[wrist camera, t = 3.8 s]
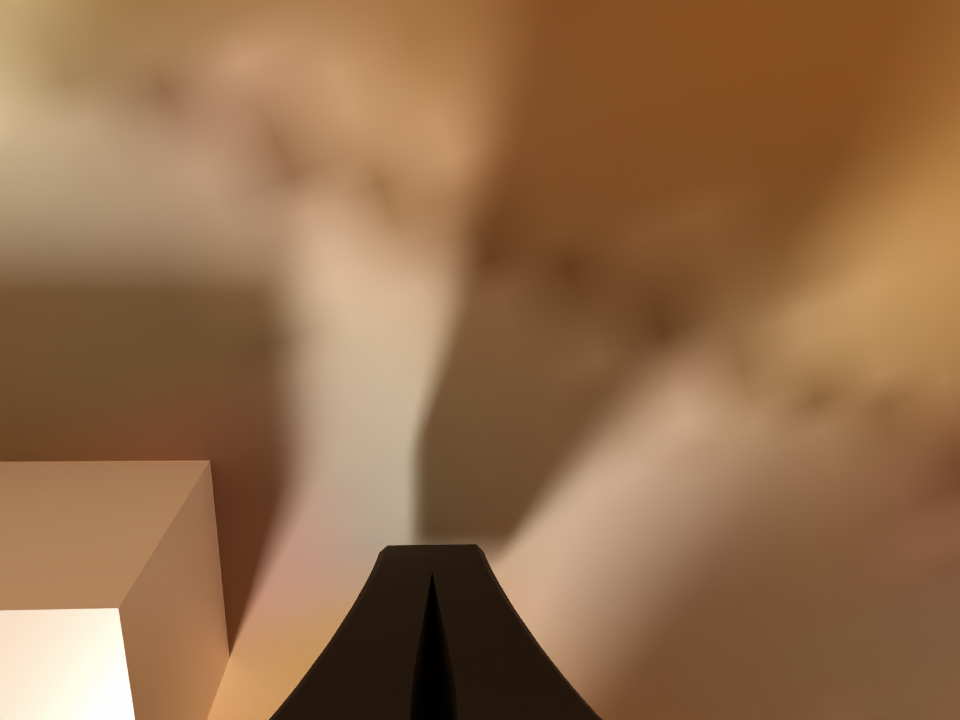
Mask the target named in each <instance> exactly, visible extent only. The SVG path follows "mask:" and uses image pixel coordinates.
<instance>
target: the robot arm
mask: <svg viewBox="0 0 960 720" xmlns="http://www.w3.org/2000/svg"><path fill="white" fill-rule="evenodd" d="M269 720H602V719H601V718H600V717H599V716H598V715H597V714H596V713H595V712H594V711H593V710H592V708H591V707H590V706H589V705H588V704H587V703H586V702H585V701H584V700H583V698H582V697H581V696H580V695H579V694H578V693H577V691H576V690H575V689H574V688H573V687H572V686H571V684H570V683H569V682H568V681H567V679H566V678H565V677H564V676H563V675H562V673H561V672H560V671H559V670H558V668H557V667H556V666H555V665H554V663H553V662H552V661H551V660H550V658H549V657H548V656H547V654H546V653H545V652H544V650H543V649H542V648H541V646H540V645H539V644H538V642H537V641H536V639H535V638H534V636H533V635H532V634H531V632H530V631H529V629H528V628H527V626H526V625H525V623H524V622H523V621H522V619H521V618H520V616H519V615H518V613H517V612H516V610H515V609H514V607H513V606H512V604H511V602H510V601H509V599H508V598H507V596H506V594H505V593H504V591H503V589H502V588H501V586H500V584H499V582H498V581H497V579H496V577H495V575H494V573H493V571H492V569H491V567H490V565H489V563H488V561H487V559H486V557H485V554H484V552H483V551H482V550H481V549H480V548H479V547H478V546H477V545H476V544H467V545H396V546H387V547H385V548H384V549H383V550H382V551H381V552H380V553H379V555H378V558H377V561H376V563H375V565H374V567H373V569H372V572H371V574H370V576H369V578H368V580H367V581H366V583H365V585H364V587H363V589H362V591H361V592H360V594H359V596H358V598H357V599H356V601H355V603H354V605H353V606H352V608H351V609H350V611H349V612H348V614H347V616H346V617H345V619H344V620H343V622H342V623H341V625H340V627H339V628H338V630H337V631H336V633H335V634H334V636H333V637H332V639H331V640H330V642H329V643H328V645H327V646H326V648H325V649H324V650H323V652H322V653H321V654H320V656H319V657H318V658H317V660H316V661H315V662H314V664H313V665H312V666H311V668H310V669H309V671H308V672H307V673H306V675H305V676H304V677H303V679H302V680H301V681H300V683H299V684H298V685H297V687H296V688H295V689H294V690H293V692H292V693H291V694H290V695H289V697H288V698H287V699H286V700H285V701H284V703H283V704H282V705H281V706H280V707H279V709H278V710H277V711H276V712H275V713H274V714H273V716H272V717H271V718H270V719H269Z"/></svg>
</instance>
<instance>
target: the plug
mask: <svg viewBox="0 0 960 720" xmlns="http://www.w3.org/2000/svg"><path fill="white" fill-rule="evenodd" d="M228 660H229V647H228V637H227V627H226V617H225V606H224V596H223V586H222V576H221V566H220V556H219V545H218V535H217V525H216V515H215V505H214V495H213V484H212V474H211V464H210V460H179V461H28V462H0V720H207V718H208V715H209V712H210V709H211V707H212V704H213V701H214V698H215V696H216V693H217V690H218V687H219V685H220V682H221V679H222V676H223V674H224V671H225V668H226V665H227V663H228Z"/></svg>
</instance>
